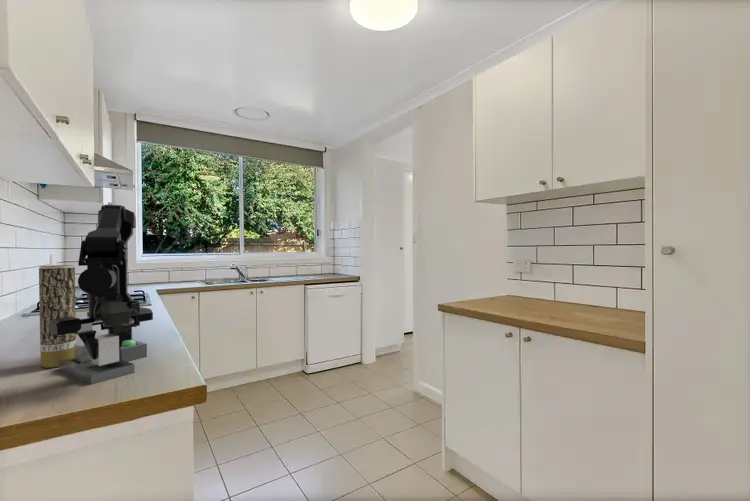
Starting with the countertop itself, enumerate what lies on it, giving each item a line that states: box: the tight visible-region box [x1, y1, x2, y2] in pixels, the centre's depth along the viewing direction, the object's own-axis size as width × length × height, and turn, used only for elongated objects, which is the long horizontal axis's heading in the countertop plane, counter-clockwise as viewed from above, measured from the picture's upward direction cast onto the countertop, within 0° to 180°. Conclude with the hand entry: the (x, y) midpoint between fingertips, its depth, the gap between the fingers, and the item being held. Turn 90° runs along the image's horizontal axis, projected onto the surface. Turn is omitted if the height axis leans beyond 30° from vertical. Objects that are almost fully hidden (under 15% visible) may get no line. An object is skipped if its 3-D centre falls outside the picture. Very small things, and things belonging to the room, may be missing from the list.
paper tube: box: [38, 264, 77, 369], centre depth 91 cm, size 7×7×25 cm
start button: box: [122, 339, 137, 347], centre depth 97 cm, size 3×3×2 cm
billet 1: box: [74, 341, 92, 364], centre depth 89 cm, size 4×4×6 cm
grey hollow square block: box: [119, 340, 148, 362], centre depth 97 cm, size 6×6×4 cm
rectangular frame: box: [59, 358, 135, 385], centre depth 87 cm, size 18×8×2 cm, turn 57°
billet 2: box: [92, 333, 119, 366], centre depth 84 cm, size 4×4×6 cm
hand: (105, 356), depth 84 cm, fingers closed on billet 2, 4 cm apart
